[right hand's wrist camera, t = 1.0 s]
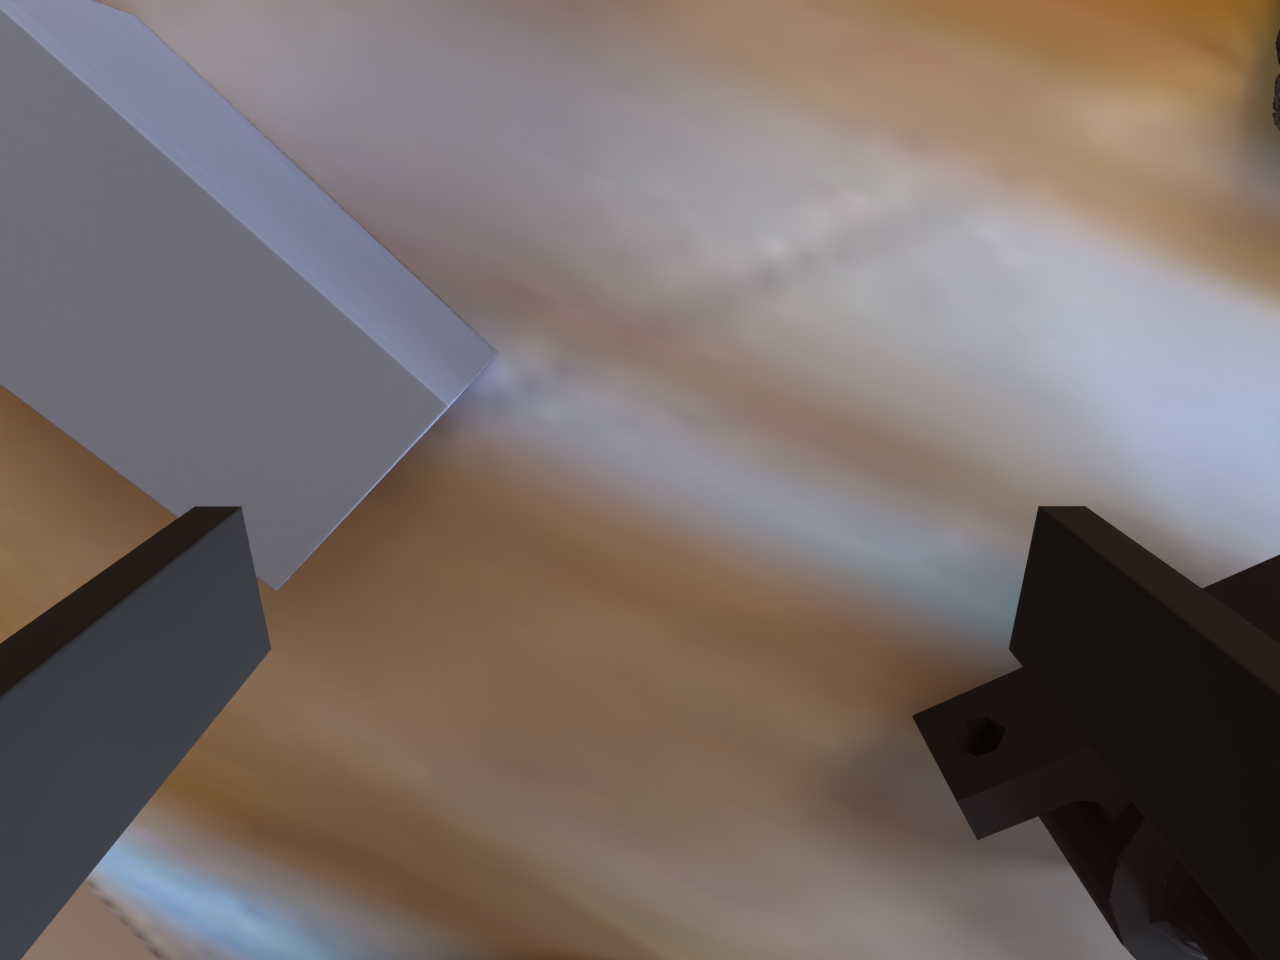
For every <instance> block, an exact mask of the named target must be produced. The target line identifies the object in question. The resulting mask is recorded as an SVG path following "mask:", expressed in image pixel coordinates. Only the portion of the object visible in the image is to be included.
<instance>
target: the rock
mask: <svg viewBox="0 0 1280 960" xmlns="http://www.w3.org/2000/svg"><path fill="white" fill-rule="evenodd" d="M1278 34H1279V35H1278V37H1277V41H1276V49H1277V54H1278V55H1277V56H1278V63H1279V64H1280V31H1279V33H1278ZM1275 84H1276V85H1275V97H1276V98H1275V97H1274V100H1275V101H1274V102H1273V109H1274V110H1276V111H1275V113H1273V117H1274V118H1275V119H1274V121H1275V124H1276V125H1277V127H1278V129H1279V131H1280V74H1279V75H1278V76H1277V77H1276V81H1275Z"/></svg>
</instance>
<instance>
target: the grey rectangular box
mask: <svg viewBox="0 0 1280 960" xmlns="http://www.w3.org/2000/svg"><path fill="white" fill-rule="evenodd" d="M496 355H497V352H496V351H495V350H493V349H492V348H491V347H490V346H489V345H488V344H487V343H486V342H485V341H484V340H483V339H482V338H481V337H479V336H478V335H477V334H476V333H475V332H474V331H473V330H472V329H471V328H470V327H469V326H468V325H467V324H466V323H464V322H463V321H462V320H461V319H460V318H459V317H458V316H457V315H456V314H455V313H454V312H453V311H452V310H450V309H449V308H448V307H447V306H446V305H445V304H444V303H443V302H442V301H441V300H440V299H439V298H438V297H437V296H435V295H434V294H433V293H432V292H431V291H430V290H429V289H428V288H427V287H426V286H425V285H424V284H423V283H421V282H420V281H419V280H418V279H417V278H416V277H415V276H414V275H413V274H412V273H411V272H410V271H409V270H408V269H406V268H405V267H404V266H403V265H402V264H401V263H400V262H399V261H398V260H397V259H396V258H395V257H394V256H392V255H391V254H390V253H389V252H388V251H387V250H386V249H385V248H384V247H383V246H382V245H381V244H380V243H379V242H377V241H376V240H375V239H374V238H373V237H372V236H371V235H370V234H369V233H368V232H367V231H366V230H365V229H363V228H362V227H361V226H360V225H359V224H358V223H357V222H356V221H355V220H354V219H353V218H352V217H351V216H350V215H348V214H347V213H346V212H345V211H344V210H343V209H342V208H341V207H340V206H339V205H338V204H337V203H336V202H334V201H333V200H332V199H331V198H330V197H329V196H328V195H327V194H326V193H325V192H324V191H323V190H322V189H321V188H319V187H318V186H317V185H316V184H315V183H314V182H313V181H312V180H311V179H310V178H309V177H308V176H307V175H305V174H304V173H303V172H302V171H301V170H300V169H299V168H298V167H297V166H296V165H295V164H294V163H293V162H292V161H290V160H289V159H288V158H287V157H286V156H285V155H284V154H283V153H282V152H281V151H280V150H279V149H278V148H277V147H275V146H274V145H273V144H272V143H271V142H270V141H269V140H268V139H267V138H266V137H265V136H264V135H263V134H261V133H260V132H259V131H258V130H257V129H256V128H255V127H254V126H253V125H252V124H251V123H250V122H249V121H248V120H246V119H245V118H244V117H243V116H242V115H241V114H240V113H239V112H238V111H237V110H236V109H235V108H234V107H232V106H231V105H230V104H229V103H228V102H227V101H226V100H225V99H224V98H223V97H222V96H221V95H220V94H219V93H217V92H216V91H215V90H214V89H213V88H212V87H211V86H210V85H209V84H208V83H207V82H206V81H205V80H203V79H202V78H201V77H200V76H199V75H198V74H197V73H196V72H195V71H194V70H193V69H192V68H191V67H190V66H188V65H187V64H186V63H185V62H184V61H183V60H182V59H181V58H180V57H179V56H178V55H177V54H176V53H174V52H173V51H172V50H171V49H170V48H169V47H168V46H167V45H166V44H165V43H164V42H163V41H162V40H161V39H159V38H158V37H157V36H156V35H155V34H154V33H153V32H152V31H151V30H150V29H149V28H148V27H147V26H145V25H144V24H143V23H142V22H141V21H140V20H139V19H138V18H137V17H136V16H135V15H132V14H129V13H126V12H124V11H121V10H118V9H115V8H112V7H109V6H106V5H104V4H101V3H98V2H95V1H92V0H0V385H1V386H3V387H4V388H5V389H7V390H8V391H9V392H11V393H12V394H13V395H15V396H16V397H17V398H19V399H20V400H21V401H23V402H24V403H25V404H27V405H28V406H29V407H30V408H32V409H33V410H34V411H36V412H37V413H38V414H40V415H41V416H42V417H44V418H45V419H46V420H48V421H49V422H50V423H52V424H53V425H54V426H56V427H57V428H58V429H60V430H61V431H62V432H64V433H65V434H66V435H68V436H69V437H70V438H72V439H73V440H74V441H76V442H77V443H78V444H80V445H81V446H82V447H84V448H85V449H86V450H88V451H89V452H90V453H92V454H93V455H94V456H96V457H97V458H98V459H100V460H101V461H102V462H104V463H105V464H106V465H108V466H109V467H110V468H112V469H113V470H114V471H116V472H117V473H118V474H120V475H121V476H122V477H124V478H125V479H126V480H128V481H129V482H130V483H132V484H133V485H134V486H136V487H137V488H138V489H140V490H141V491H142V492H144V493H145V494H146V495H148V496H149V497H150V498H152V499H153V500H154V501H156V502H157V503H158V504H160V505H161V506H162V507H164V508H165V509H166V510H168V511H169V512H170V513H172V514H173V515H174V516H176V517H177V518H179V517H180V516H182V515H183V514H185V513H186V512H188V511H189V510H190V509H192V508H193V507H195V506H241V507H242V511H243V516H244V521H245V526H246V531H247V535H248V540H249V545H250V550H251V555H252V560H253V564H254V569H255V574H256V577H257V578H258V579H260V580H261V581H262V582H264V583H265V584H266V585H268V586H269V587H270V588H272V589H273V590H274V591H276V590H278V589H279V588H280V587H281V586H282V585H283V584H284V583H285V582H286V581H287V580H288V579H289V577H290V576H291V575H292V574H293V573H294V572H295V571H296V570H297V569H298V568H299V567H300V566H301V565H302V564H303V563H304V561H305V560H306V559H307V558H308V557H309V556H310V555H311V554H312V553H313V552H314V551H315V550H316V549H317V548H318V547H319V545H320V544H321V543H322V542H323V541H324V540H325V539H326V538H327V537H328V536H329V535H330V534H331V533H332V532H333V531H334V529H335V528H336V527H337V526H338V525H339V524H340V523H341V522H342V521H343V520H344V519H345V518H346V517H347V516H348V515H349V513H350V512H351V511H352V510H353V509H354V508H355V507H356V506H357V505H358V504H359V503H360V502H361V501H362V500H363V499H364V497H365V496H366V495H367V494H368V493H369V492H370V491H371V490H372V489H373V488H374V487H375V486H376V485H377V484H378V483H379V481H380V480H381V479H382V478H383V477H384V476H385V475H386V474H387V473H388V472H389V471H390V470H391V469H392V468H393V466H394V465H395V464H396V463H397V462H398V461H399V460H400V459H401V458H402V457H403V456H404V455H405V454H406V453H407V452H408V450H409V449H410V448H411V447H412V446H413V445H414V444H415V443H416V442H417V441H418V440H419V439H420V438H421V437H422V436H423V434H424V433H425V432H426V431H427V430H428V429H429V428H430V427H431V426H432V425H433V424H434V423H435V422H436V421H437V420H438V418H439V417H440V416H441V415H442V414H443V413H444V412H445V411H446V410H447V409H448V408H449V407H450V406H451V405H452V403H453V402H454V401H455V400H456V399H457V398H458V397H459V396H460V395H461V393H462V392H463V391H464V390H465V389H466V388H467V387H468V386H469V385H470V383H471V382H472V381H473V380H474V379H475V378H476V377H477V376H478V375H479V373H480V372H481V371H482V370H483V369H484V368H485V367H486V366H487V365H488V363H489V362H490V361H491V360H492V359H493V358H494V357H495V356H496Z"/></svg>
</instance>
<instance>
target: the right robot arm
mask: <svg viewBox="0 0 1280 960" xmlns="http://www.w3.org/2000/svg"><path fill="white" fill-rule="evenodd" d="M270 650H271V646H270V641H269V636H268V632H267V627H266V622H265V617H264V612H263V608H262V603H261V598H260V593H259V588H258V584H257V579H256V574H255V569H254V564H253V560H252V555H251V550H250V545H249V540H248V535H247V531H246V526H245V521H244V516H243V511H242V507H241V506H195V507H193V508H192V509H190V510H189V511H188V512H186V513H185V514H183V515H182V516H180V517H179V518H178V519H176V520H175V521H173V522H172V523H171V524H169V525H168V526H166V527H165V528H163V529H162V530H161V531H159V532H158V533H156V534H155V535H154V536H152V537H151V538H149V539H148V540H147V541H145V542H144V543H142V544H141V545H139V546H138V547H137V548H135V549H134V550H132V551H131V552H130V553H128V554H127V555H125V556H124V557H122V558H121V559H120V560H118V561H117V562H115V563H114V564H113V565H111V566H110V567H108V568H107V569H105V570H104V571H103V572H101V573H100V574H98V575H97V576H96V577H94V578H93V579H91V580H90V581H88V582H87V583H86V584H84V585H83V586H81V587H80V588H79V589H77V590H76V591H74V592H73V593H71V594H70V595H69V596H67V597H66V598H64V599H63V600H62V601H60V602H59V603H57V604H56V605H54V606H53V607H52V608H50V609H49V610H47V611H46V612H45V613H43V614H42V615H40V616H39V617H37V618H36V619H35V620H33V621H32V622H30V623H29V624H28V625H26V626H25V627H23V628H22V629H20V630H19V631H18V632H16V633H15V634H13V635H12V636H11V637H9V638H8V639H6V640H5V641H4V642H2V643H1V644H0V960H20V959H21V958H22V957H23V956H24V955H25V953H26V952H27V951H28V950H29V948H30V947H31V946H32V945H33V943H34V942H35V941H36V940H37V938H38V937H39V936H40V935H41V933H42V932H43V931H44V930H45V929H46V927H47V926H48V925H49V924H50V922H51V921H52V920H53V919H54V917H55V916H56V915H57V914H58V912H59V911H60V910H61V909H62V907H63V906H64V905H65V904H66V902H67V901H68V900H69V899H70V898H71V896H72V895H73V894H74V893H75V891H76V890H77V889H78V888H79V886H80V885H81V884H82V883H83V881H84V880H85V879H86V878H87V876H88V875H89V874H90V873H91V872H92V870H93V869H94V868H95V867H96V865H97V864H98V863H99V862H100V860H101V859H102V858H103V857H104V855H105V854H106V853H107V852H108V850H109V849H110V848H111V847H112V845H113V844H114V843H115V842H116V841H117V839H118V838H119V837H120V836H121V834H122V833H123V832H124V831H125V829H126V828H127V827H128V826H129V824H130V823H131V822H132V821H133V819H134V818H135V817H136V816H137V815H138V813H139V812H140V811H141V810H142V808H143V807H144V806H145V805H146V803H147V802H148V801H149V800H150V798H151V797H152V796H153V795H154V793H155V792H156V791H157V790H158V788H159V787H160V786H161V785H162V784H163V782H164V781H165V780H166V779H167V777H168V776H169V775H170V774H171V772H172V771H173V770H174V769H175V767H176V766H177V765H178V764H179V762H180V761H181V760H182V759H183V758H184V756H185V755H186V754H187V753H188V751H189V750H190V749H191V748H192V746H193V745H194V744H195V743H196V741H197V740H198V739H199V738H200V736H201V735H202V734H203V733H204V732H205V730H206V729H207V728H208V727H209V725H210V724H211V723H212V722H213V720H214V719H215V718H216V717H217V715H218V714H219V713H220V712H221V710H222V709H223V708H224V707H225V705H226V704H227V703H228V702H229V701H230V699H231V698H232V697H233V696H234V694H235V693H236V692H237V691H238V689H239V688H240V687H241V686H242V684H243V683H244V682H245V681H246V679H247V678H248V677H249V676H250V675H251V673H252V672H253V671H254V670H255V668H256V667H257V666H258V665H259V663H260V662H261V661H262V660H263V658H264V657H265V656H266V655H267V653H268V652H269V651H270ZM1009 650H1010V651H1011V652H1012V653H1013V655H1014V656H1015V657H1016V658H1017V660H1018V661H1019V662H1020V663H1021V665H1022V666H1023V667H1024V668H1025V670H1026V671H1027V672H1028V673H1029V675H1030V676H1031V677H1032V678H1033V679H1034V681H1035V682H1036V683H1037V684H1038V686H1039V687H1040V688H1041V689H1042V691H1043V692H1044V693H1045V694H1046V696H1047V697H1048V698H1049V699H1050V701H1051V702H1052V703H1053V704H1054V705H1055V707H1056V708H1057V709H1058V710H1059V712H1060V713H1061V714H1062V715H1063V717H1064V718H1065V719H1066V720H1067V722H1068V723H1069V724H1070V725H1071V727H1072V728H1073V729H1074V730H1075V732H1076V733H1077V734H1078V735H1079V736H1080V738H1081V739H1082V740H1083V741H1084V743H1085V744H1086V745H1087V746H1088V748H1089V749H1090V750H1091V751H1092V753H1093V754H1094V755H1095V756H1096V758H1097V759H1098V760H1099V761H1100V762H1101V764H1102V765H1103V766H1104V767H1105V769H1106V770H1107V771H1108V772H1109V774H1110V775H1111V776H1112V777H1113V779H1114V780H1115V781H1116V782H1117V784H1118V785H1119V786H1120V787H1121V788H1122V790H1123V791H1124V792H1125V793H1126V795H1127V796H1128V797H1129V798H1130V800H1131V801H1132V802H1133V803H1134V805H1135V806H1136V807H1137V808H1138V810H1139V811H1140V812H1141V813H1142V815H1143V816H1144V817H1145V818H1146V819H1147V821H1148V822H1149V823H1150V824H1151V826H1152V827H1153V828H1154V829H1155V831H1156V832H1157V833H1158V834H1159V836H1160V837H1161V838H1162V839H1163V841H1164V842H1165V843H1166V844H1167V845H1168V847H1169V848H1170V849H1171V850H1172V852H1173V853H1174V854H1175V855H1176V857H1177V858H1178V859H1179V860H1180V862H1181V863H1182V864H1183V865H1184V867H1185V868H1186V869H1187V870H1188V872H1189V873H1190V874H1191V875H1192V876H1193V878H1194V879H1195V880H1196V881H1197V883H1198V884H1199V885H1200V886H1201V888H1202V889H1203V890H1204V891H1205V893H1206V894H1207V895H1208V896H1209V898H1210V899H1211V900H1212V901H1213V902H1214V904H1215V905H1216V906H1217V907H1218V909H1219V910H1220V911H1221V912H1222V914H1223V915H1224V916H1225V917H1226V919H1227V920H1228V921H1229V922H1230V924H1231V925H1232V926H1233V927H1234V929H1235V930H1236V931H1237V932H1238V933H1239V935H1240V936H1241V937H1242V938H1243V940H1244V941H1245V942H1246V943H1247V945H1248V946H1249V947H1250V948H1251V950H1252V951H1253V952H1254V953H1255V955H1256V956H1257V957H1258V958H1259V959H1260V960H1280V644H1279V643H1278V642H1276V641H1275V640H1274V639H1272V638H1271V637H1269V636H1268V635H1267V634H1265V633H1264V632H1262V631H1261V630H1260V629H1258V628H1257V627H1255V626H1254V625H1252V624H1251V623H1250V622H1248V621H1247V620H1245V619H1244V618H1243V617H1241V616H1240V615H1238V614H1237V613H1235V612H1234V611H1233V610H1231V609H1230V608H1228V607H1227V606H1226V605H1224V604H1223V603H1221V602H1220V601H1218V600H1217V599H1216V598H1214V597H1213V596H1211V595H1210V594H1209V593H1207V592H1206V591H1204V590H1203V589H1201V588H1200V587H1199V586H1197V585H1196V584H1194V583H1193V582H1192V581H1190V580H1189V579H1187V578H1186V577H1184V576H1183V575H1182V574H1180V573H1179V572H1177V571H1176V570H1175V569H1173V568H1172V567H1170V566H1169V565H1167V564H1166V563H1165V562H1163V561H1162V560H1160V559H1159V558H1158V557H1156V556H1155V555H1153V554H1152V553H1150V552H1149V551H1148V550H1146V549H1145V548H1143V547H1142V546H1141V545H1139V544H1138V543H1136V542H1135V541H1133V540H1132V539H1131V538H1129V537H1128V536H1126V535H1125V534H1124V533H1122V532H1121V531H1119V530H1118V529H1117V528H1115V527H1114V526H1112V525H1111V524H1109V523H1108V522H1107V521H1105V520H1104V519H1102V518H1101V517H1100V516H1098V515H1097V514H1095V513H1094V512H1092V511H1091V510H1090V509H1088V508H1087V507H1085V506H1039V507H1038V511H1037V516H1036V521H1035V526H1034V531H1033V535H1032V540H1031V545H1030V550H1029V555H1028V559H1027V564H1026V569H1025V574H1024V579H1023V584H1022V588H1021V593H1020V598H1019V603H1018V608H1017V612H1016V617H1015V622H1014V627H1013V632H1012V636H1011V641H1010V646H1009Z"/></svg>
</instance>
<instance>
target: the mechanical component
mask: <svg viewBox="0 0 1280 960" xmlns="http://www.w3.org/2000/svg"><path fill="white" fill-rule="evenodd" d="M1203 590H1204V591H1206V592H1207V593H1209V594H1210V595H1211V596H1213V597H1214V598H1216V599H1217V600H1218V601H1220V602H1221V603H1223V604H1224V605H1226V606H1227V607H1228V608H1230V609H1231V610H1233V611H1234V612H1235V613H1237V614H1238V615H1240V616H1241V617H1243V618H1244V619H1245V620H1247V621H1248V622H1250V623H1251V624H1252V625H1254V626H1255V627H1257V628H1258V629H1260V630H1261V631H1262V632H1264V633H1265V634H1267V635H1268V636H1269V637H1271V638H1272V639H1274V640H1275V641H1276V642H1278V643H1279V644H1280V555H1278V556H1276V557H1273V558H1271V559H1269V560H1266V561H1264V562H1262V563H1260V564H1257V565H1255V566H1253V567H1250V568H1248V569H1246V570H1244V571H1241V572H1239V573H1237V574H1234V575H1232V576H1230V577H1228V578H1225V579H1223V580H1221V581H1219V582H1216V583H1214V584H1212V585H1209V586H1207V587H1205V588H1203ZM912 717H913V719H914V721H915V722H916V724H917V726H918V728H919V730H920V732H921V734H922V736H923V738H924V740H925V742H926V743H927V745H928V747H929V749H930V751H931V753H932V755H933V757H934V759H935V761H936V763H937V764H938V766H939V768H940V770H941V772H942V774H943V776H944V778H945V780H946V782H947V784H948V786H949V787H950V789H951V791H952V793H953V795H954V797H955V799H956V801H957V803H958V805H959V806H960V808H961V810H962V812H963V814H964V816H965V818H966V819H967V821H968V823H969V825H970V827H971V829H972V830H973V832H974V834H975V836H976V838H977V840H979V839H982V838H984V837H987V836H989V835H992V834H994V833H997V832H999V831H1002V830H1004V829H1007V828H1009V827H1012V826H1014V825H1017V824H1019V823H1022V822H1024V821H1027V820H1029V819H1032V818H1034V817H1037V816H1039V817H1040V819H1041V820H1042V822H1043V823H1044V825H1045V827H1046V828H1047V830H1048V831H1049V833H1050V834H1051V836H1052V837H1053V839H1054V840H1055V842H1056V844H1057V845H1058V847H1059V848H1060V850H1061V851H1062V853H1063V854H1064V856H1065V857H1066V859H1067V861H1068V862H1069V864H1070V865H1071V867H1072V868H1073V870H1074V871H1075V873H1076V874H1077V876H1078V878H1079V879H1080V881H1081V882H1082V884H1083V885H1084V887H1085V888H1086V890H1087V891H1088V893H1089V895H1090V896H1091V898H1092V899H1093V901H1094V902H1095V904H1096V905H1097V907H1098V908H1099V910H1100V911H1101V913H1102V915H1103V916H1104V918H1105V919H1106V921H1107V922H1108V924H1109V925H1110V927H1111V928H1112V930H1113V932H1114V933H1115V935H1116V936H1117V938H1118V939H1119V941H1120V942H1121V944H1122V945H1123V946H1124V947H1125V948H1126V949H1127V950H1128V951H1129V952H1130V953H1131V954H1132V956H1133V957H1134V958H1135V959H1136V960H1260V959H1259V958H1258V957H1257V956H1256V955H1255V953H1254V952H1253V951H1252V950H1251V948H1250V947H1249V946H1248V945H1247V943H1246V942H1245V941H1244V940H1243V938H1242V937H1241V936H1240V935H1239V933H1238V932H1237V931H1236V930H1235V929H1234V927H1233V926H1232V925H1231V924H1230V922H1229V921H1228V920H1227V919H1226V917H1225V916H1224V915H1223V914H1222V912H1221V911H1220V910H1219V909H1218V907H1217V906H1216V905H1215V904H1214V902H1213V901H1212V900H1211V899H1210V898H1209V896H1208V895H1207V894H1206V893H1205V891H1204V890H1203V889H1202V888H1201V886H1200V885H1199V884H1198V883H1197V881H1196V880H1195V879H1194V878H1193V876H1192V875H1191V874H1190V873H1189V872H1188V870H1187V869H1186V868H1185V867H1184V865H1183V864H1182V863H1181V862H1180V860H1179V859H1178V858H1177V857H1176V855H1175V854H1174V853H1173V852H1172V850H1171V849H1170V848H1169V847H1168V845H1167V844H1166V843H1165V842H1164V841H1163V839H1162V838H1161V837H1160V836H1159V834H1158V833H1157V832H1156V831H1155V829H1154V828H1153V827H1152V826H1151V824H1150V823H1149V822H1148V821H1147V819H1146V818H1145V817H1144V816H1143V815H1142V813H1141V812H1140V811H1139V810H1138V808H1137V807H1136V806H1135V805H1134V803H1133V802H1132V801H1131V800H1130V798H1129V797H1128V796H1127V795H1126V793H1125V792H1124V791H1123V790H1122V788H1121V787H1120V786H1119V785H1118V784H1117V782H1116V781H1115V780H1114V779H1113V777H1112V776H1111V775H1110V774H1109V772H1108V771H1107V770H1106V769H1105V767H1104V766H1103V765H1102V764H1101V762H1100V761H1099V760H1098V759H1097V758H1096V756H1095V755H1094V754H1093V753H1092V751H1091V750H1090V749H1089V748H1088V746H1087V745H1086V744H1085V743H1084V741H1083V740H1082V739H1081V738H1080V736H1079V735H1078V734H1077V733H1076V732H1075V730H1074V729H1073V728H1072V727H1071V725H1070V724H1069V723H1068V722H1067V720H1066V719H1065V718H1064V717H1063V715H1062V714H1061V713H1060V712H1059V710H1058V709H1057V708H1056V707H1055V705H1054V704H1053V703H1052V702H1051V701H1050V699H1049V698H1048V697H1047V696H1046V694H1045V693H1044V692H1043V691H1042V689H1041V688H1040V687H1039V686H1038V684H1037V683H1036V682H1035V681H1034V679H1033V678H1032V677H1031V676H1030V675H1029V673H1028V672H1027V671H1026V670H1025V668H1024V667H1022V668H1020V669H1018V670H1015V671H1013V672H1011V673H1009V674H1006V675H1004V676H1002V677H1000V678H997V679H995V680H993V681H990V682H988V683H986V684H984V685H981V686H979V687H977V688H974V689H972V690H970V691H968V692H965V693H963V694H961V695H958V696H956V697H954V698H952V699H949V700H947V701H945V702H942V703H940V704H938V705H936V706H933V707H931V708H929V709H927V710H924V711H922V712H920V713H917V714H915V715H913V716H912Z"/></svg>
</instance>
